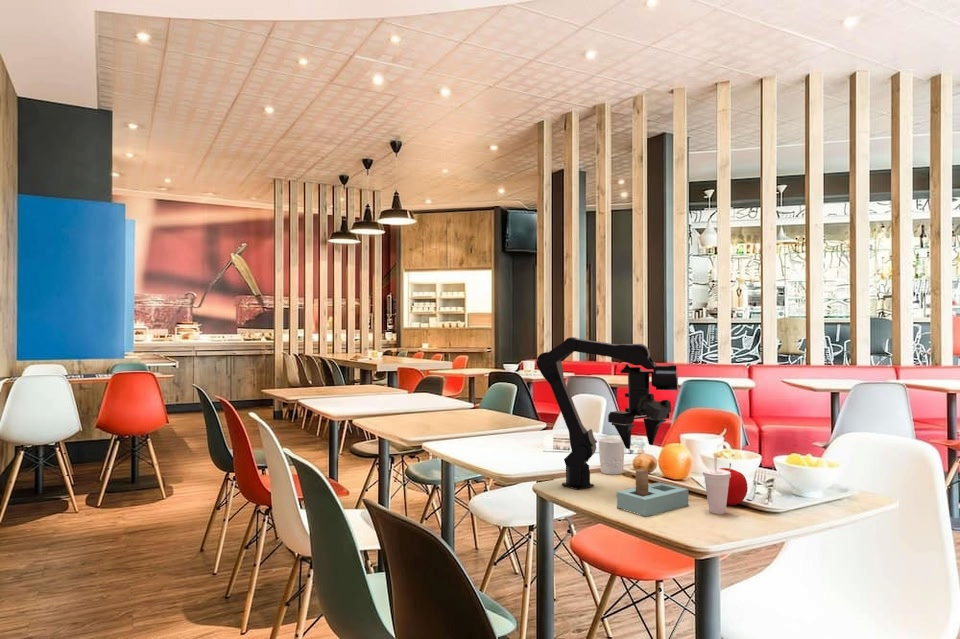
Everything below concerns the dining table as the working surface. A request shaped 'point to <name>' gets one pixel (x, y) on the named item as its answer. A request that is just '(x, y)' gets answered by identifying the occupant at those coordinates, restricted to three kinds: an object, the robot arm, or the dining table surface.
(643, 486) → the peg
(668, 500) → the hole block
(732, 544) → the dining table surface
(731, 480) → the fruit
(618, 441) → the white cup
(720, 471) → the smoothie
